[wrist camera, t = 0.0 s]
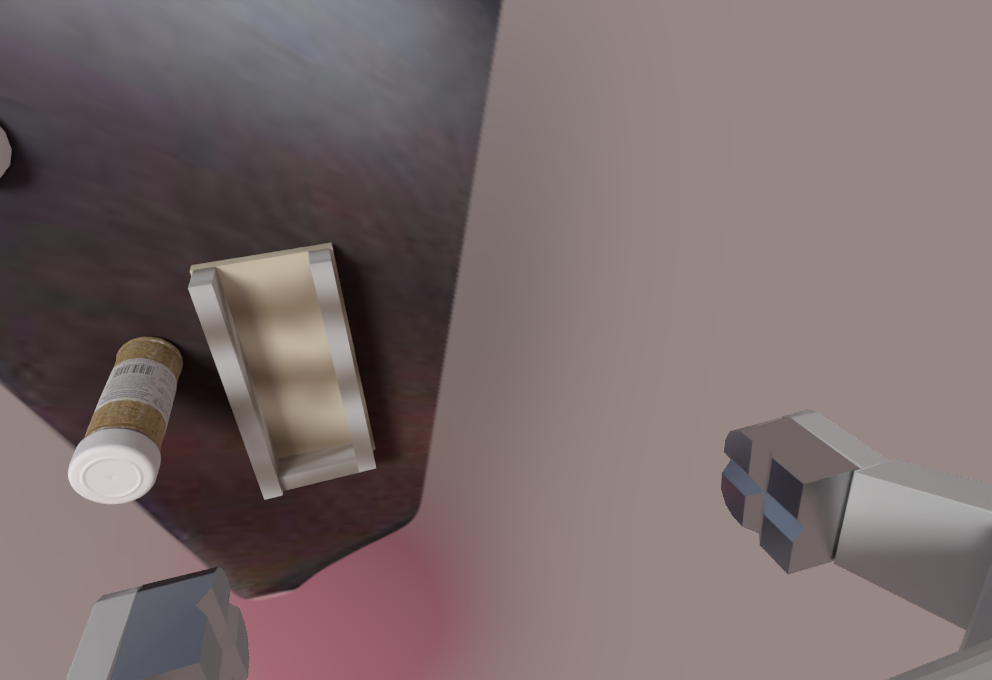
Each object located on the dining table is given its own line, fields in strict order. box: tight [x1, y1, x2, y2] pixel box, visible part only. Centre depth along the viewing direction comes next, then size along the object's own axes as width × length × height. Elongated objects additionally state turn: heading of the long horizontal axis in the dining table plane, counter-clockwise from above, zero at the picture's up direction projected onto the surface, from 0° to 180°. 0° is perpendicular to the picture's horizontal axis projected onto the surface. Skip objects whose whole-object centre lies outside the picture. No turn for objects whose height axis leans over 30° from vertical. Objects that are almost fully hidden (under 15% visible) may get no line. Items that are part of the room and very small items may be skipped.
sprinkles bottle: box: [68, 337, 183, 504], centre depth 41 cm, size 5×5×13 cm
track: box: [188, 243, 376, 499], centre depth 49 cm, size 20×10×4 cm, turn 3°
